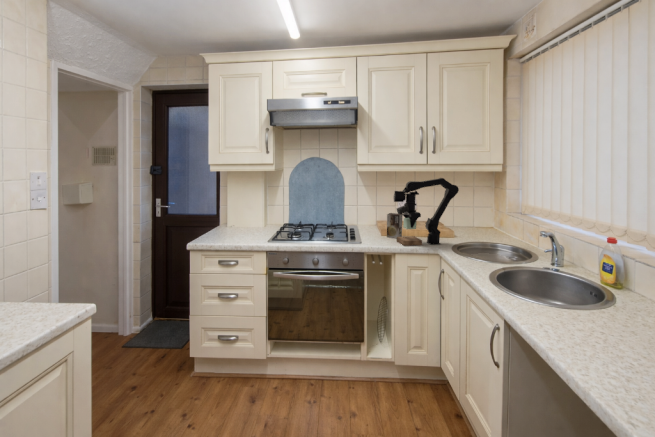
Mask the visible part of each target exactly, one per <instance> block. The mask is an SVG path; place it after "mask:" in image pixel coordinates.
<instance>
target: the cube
mask: <svg viewBox="0 0 655 437" xmlns="http://www.w3.org/2000/svg"><path fill="white" fill-rule="evenodd" d="M402 229H406V230H417V221H416V222H415V224H414V226H413V228H411V225H410V219H409V218H405V217H403V223H402Z"/></svg>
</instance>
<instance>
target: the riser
mask: <svg viewBox="0 0 655 437" xmlns="http://www.w3.org/2000/svg"><path fill="white" fill-rule="evenodd" d="M396 242H397V243H399V244H400V245H401V244H402V246H403V247H409V246H422V245H423V239H420V238H419V237H417V236H413V235H412V236H402V237H397V238H396Z"/></svg>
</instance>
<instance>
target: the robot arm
mask: <svg viewBox="0 0 655 437" xmlns="http://www.w3.org/2000/svg"><path fill="white" fill-rule="evenodd" d="M434 186H442V187H443V188H444V189H445V190H444V194H443V198H442V200H441V201H440V203H439V205H438V206H437V209H436V210H435V212H434V213H433V215H432V217H431V218H429V217H428V218H427V221H426V222H425V225H424V226H425V229H426V231H427V232H428V234H427V236H426V237H427V238H426V243H427V244H429V245H431V246H432V245H434V246H435V245H441V243H440V237H441V231H440V230H439V229H438V227H439V224H440V220H441V217H442V216H443V214H444V213H445V211H446V209H447V207H448V205H449V204H450V201H451V200H452V199H454V198H455V196H456V195H457V194H458V193H459V192H460V191H459V190H460V188H459V187H458V186H457V185H455V184H452V183H450V182H449V181H448V180H446V179H445V178H443V177H438V178H434V179H428V180H421V181H418V180H417V181H416V180H415V181H413V180H412V181H411V180H410V181H407V182H406V184H405V186H404V188H403V189H402V190H394V192H393V203H397V202H398V203H404V201H405V203H404V204H403V205H402V206H400V207H397V208H396V213H398V214H402V217H403V218H409V219H410V225H411V228H413V226H414V224H415V222H416V223H417V221H418V219H419V218H421V217H422V214H421V212H419V211H417V210H416V206H417V203H416V198H417V197H416V196H418V195H420V193H419V192H418V190H420V189H422V188H428V187H434Z"/></svg>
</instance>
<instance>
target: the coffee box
mask: <svg viewBox="0 0 655 437" xmlns="http://www.w3.org/2000/svg"><path fill="white" fill-rule="evenodd" d="M397 237H403V215H402V214H398V212H396V213H394V212H390V213H387V214H386V238H389V239H390V238H391V239H397Z"/></svg>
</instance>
